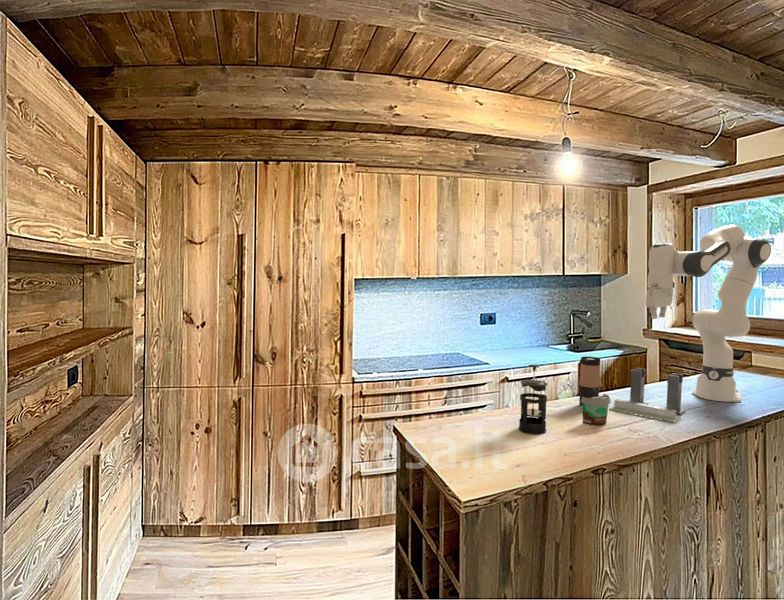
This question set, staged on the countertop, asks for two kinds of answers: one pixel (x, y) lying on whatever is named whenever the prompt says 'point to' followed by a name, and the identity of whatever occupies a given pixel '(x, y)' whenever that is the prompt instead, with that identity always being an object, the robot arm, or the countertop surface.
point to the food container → (595, 410)
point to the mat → (645, 414)
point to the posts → (672, 389)
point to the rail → (645, 408)
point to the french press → (532, 423)
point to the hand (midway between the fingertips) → (658, 318)
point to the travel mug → (589, 377)
